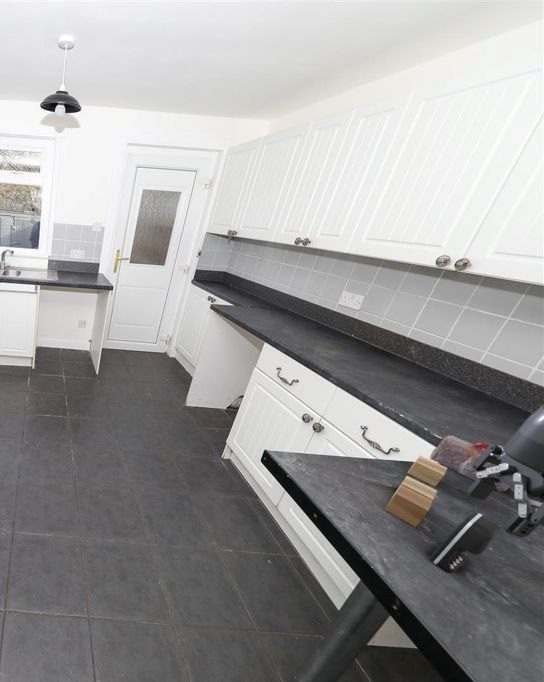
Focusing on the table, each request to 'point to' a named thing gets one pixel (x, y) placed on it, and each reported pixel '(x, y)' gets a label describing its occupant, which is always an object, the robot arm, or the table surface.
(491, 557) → the table surface
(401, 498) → the block
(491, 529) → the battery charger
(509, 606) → the table surface
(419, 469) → the block
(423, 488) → the block
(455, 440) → the food item
